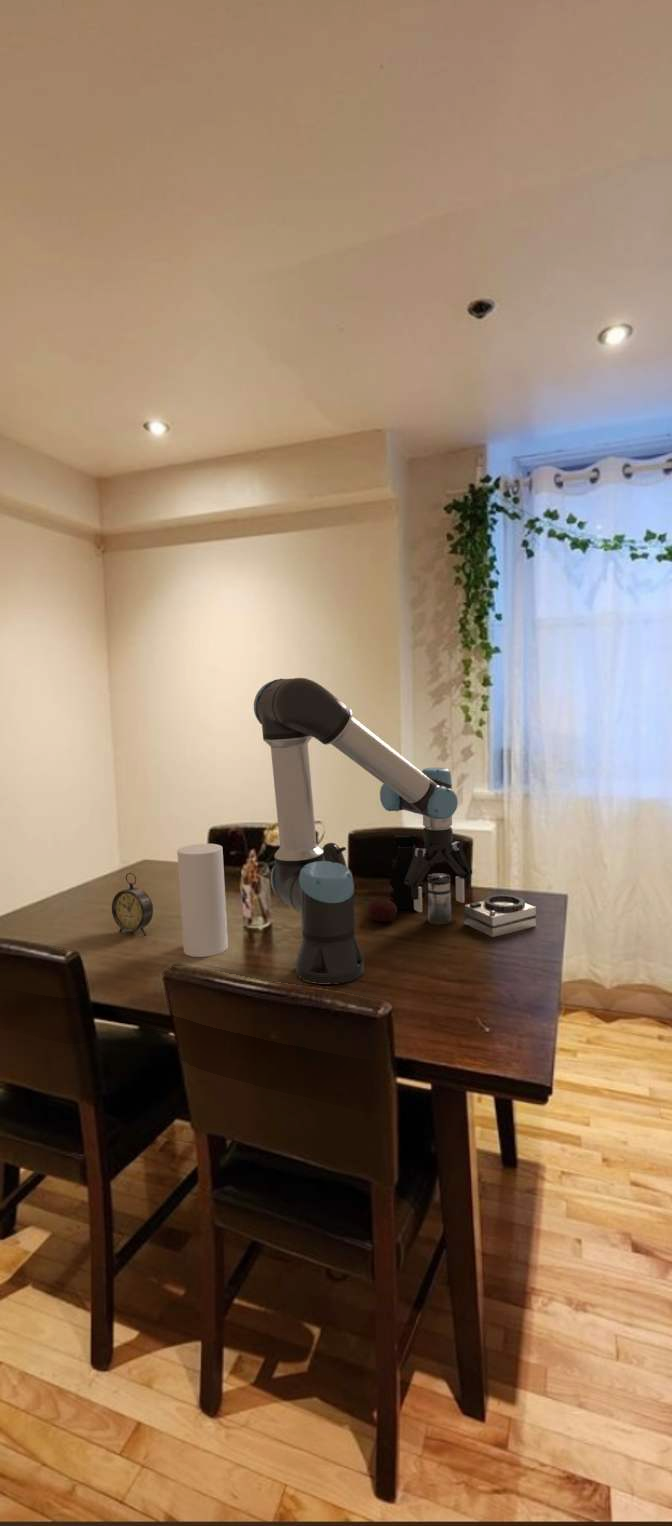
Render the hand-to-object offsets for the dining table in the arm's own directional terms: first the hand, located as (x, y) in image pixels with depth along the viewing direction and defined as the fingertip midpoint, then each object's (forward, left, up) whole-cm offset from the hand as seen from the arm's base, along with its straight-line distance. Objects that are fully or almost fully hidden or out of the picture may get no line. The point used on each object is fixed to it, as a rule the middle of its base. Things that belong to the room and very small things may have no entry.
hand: (439, 906), depth 178 cm
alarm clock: (-72, +36, -4) cm, 81 cm away
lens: (0, 0, -4) cm, 4 cm away
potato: (-13, +8, -4) cm, 16 cm away
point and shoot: (+11, -11, -4) cm, 16 cm away
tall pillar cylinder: (-59, +15, -4) cm, 61 cm away
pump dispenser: (-12, +39, -4) cm, 41 cm away
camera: (+1, +17, -4) cm, 18 cm away
